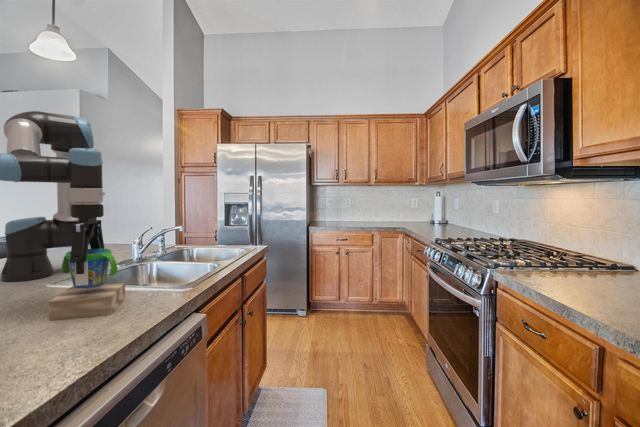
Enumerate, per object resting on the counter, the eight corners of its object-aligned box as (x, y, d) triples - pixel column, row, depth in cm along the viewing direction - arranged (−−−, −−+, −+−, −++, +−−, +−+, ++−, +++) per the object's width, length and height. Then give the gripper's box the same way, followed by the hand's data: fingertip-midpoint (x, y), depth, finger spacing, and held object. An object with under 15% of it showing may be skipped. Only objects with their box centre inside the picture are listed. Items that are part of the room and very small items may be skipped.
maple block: (72, 302, 94) (72, 286, 94) (125, 298, 99) (124, 282, 98) (49, 320, 81) (48, 301, 81) (111, 314, 86) (110, 296, 85)
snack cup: (127, 282, 93) (126, 249, 93) (96, 293, 83) (94, 256, 82) (85, 279, 96) (84, 247, 96) (49, 289, 86) (48, 253, 85)
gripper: (86, 205, 78) (89, 290, 80) (115, 202, 100) (117, 269, 101) (50, 205, 76) (54, 292, 77) (87, 202, 98) (90, 271, 99)
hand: (89, 279), depth 89 cm, fingers closed on snack cup, 10 cm apart
